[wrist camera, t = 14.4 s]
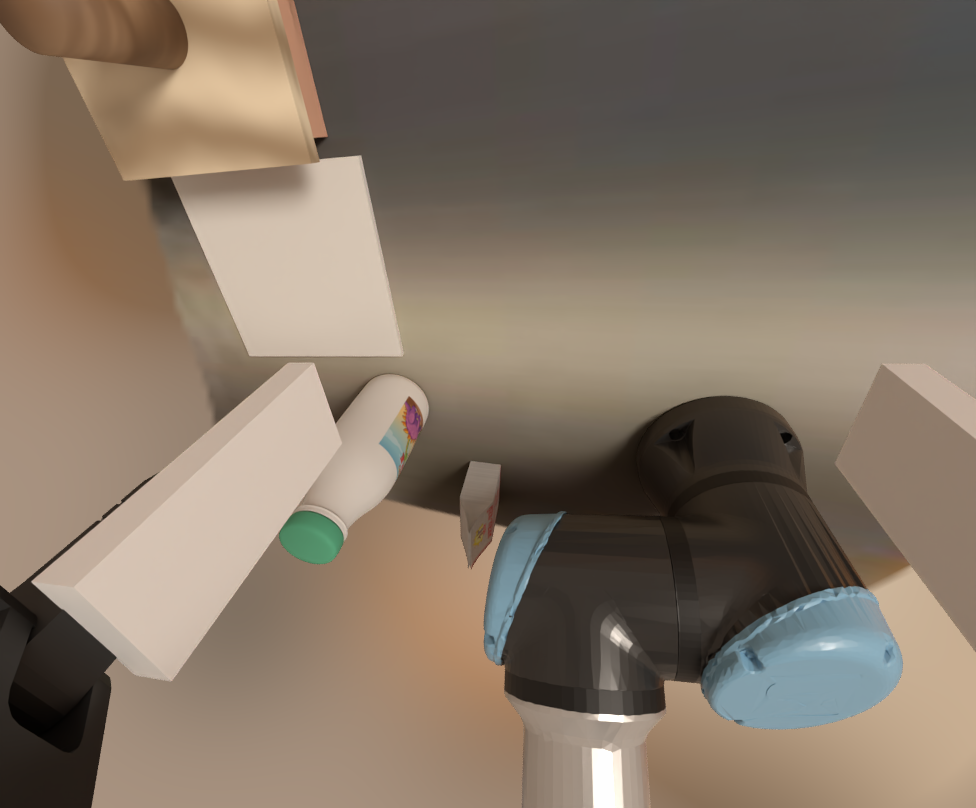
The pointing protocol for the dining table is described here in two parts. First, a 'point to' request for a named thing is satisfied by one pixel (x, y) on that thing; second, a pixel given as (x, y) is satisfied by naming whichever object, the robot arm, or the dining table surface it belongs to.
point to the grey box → (479, 507)
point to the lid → (177, 80)
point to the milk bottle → (358, 466)
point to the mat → (296, 257)
